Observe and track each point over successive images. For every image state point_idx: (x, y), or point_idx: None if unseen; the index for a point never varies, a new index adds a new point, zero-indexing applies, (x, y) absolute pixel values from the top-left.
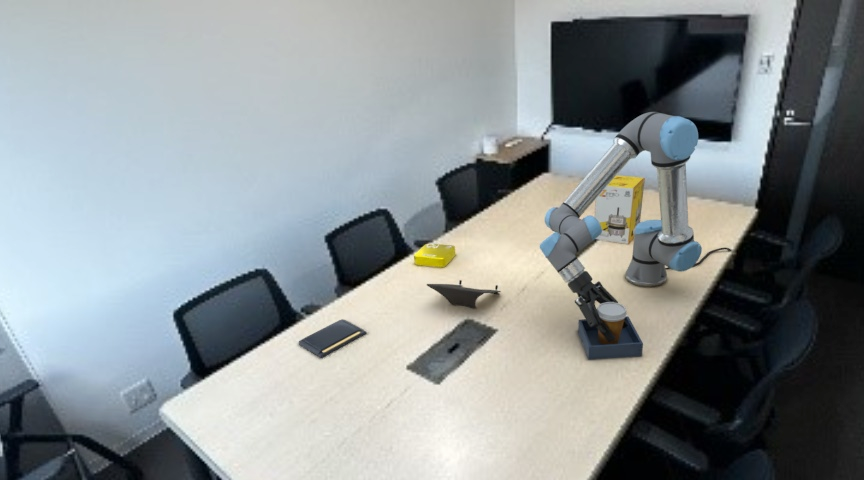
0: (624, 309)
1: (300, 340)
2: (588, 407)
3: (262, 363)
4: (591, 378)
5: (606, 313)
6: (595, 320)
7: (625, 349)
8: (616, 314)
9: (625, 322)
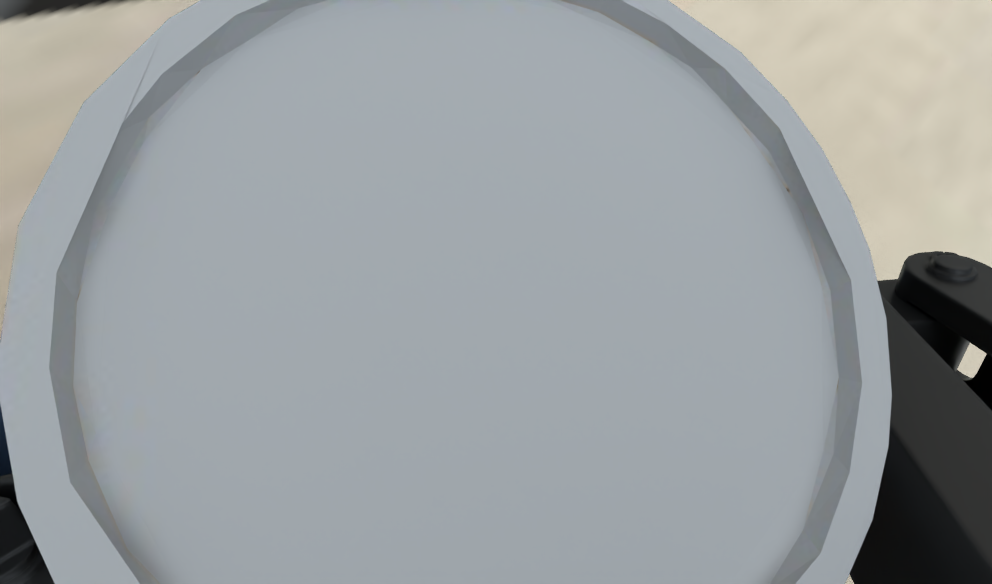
0: (234, 33)
1: None
2: (968, 19)
3: None
4: (830, 160)
5: (752, 240)
6: (979, 292)
7: None
8: (587, 52)
9: None
